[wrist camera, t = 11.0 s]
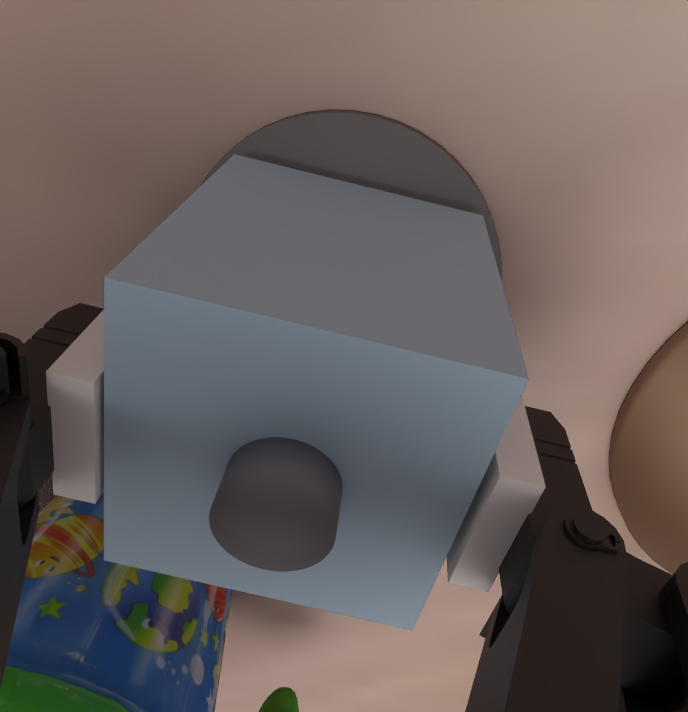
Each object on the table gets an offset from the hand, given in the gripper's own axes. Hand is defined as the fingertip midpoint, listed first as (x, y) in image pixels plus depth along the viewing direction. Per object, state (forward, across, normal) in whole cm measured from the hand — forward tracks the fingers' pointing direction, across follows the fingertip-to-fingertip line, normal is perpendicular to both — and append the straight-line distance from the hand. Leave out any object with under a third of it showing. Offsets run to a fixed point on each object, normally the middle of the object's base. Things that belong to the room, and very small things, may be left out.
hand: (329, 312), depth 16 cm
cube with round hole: (+1, 0, 0) cm, 1 cm away
